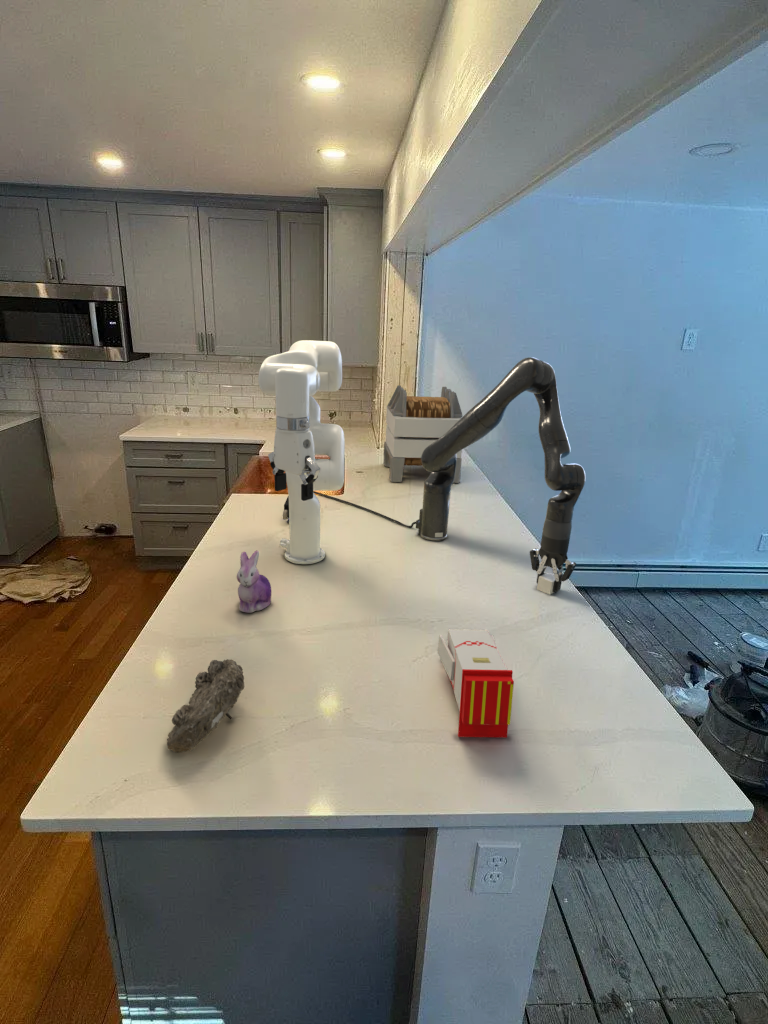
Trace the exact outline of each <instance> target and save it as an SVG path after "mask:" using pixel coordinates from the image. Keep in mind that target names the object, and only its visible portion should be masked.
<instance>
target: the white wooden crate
mask: <svg viewBox="0 0 768 1024" xmlns="http://www.w3.org/2000/svg"><path fill="white" fill-rule="evenodd" d="M440 393H441V394H440V396H415V395H414V396H413V395H412V396H411V395H407V394H408V393H407V390H406V389H404V388H403V387H402V385H399V384H398V385H397V386H396V388H395V390H394V392H393V394H392V395H391V398H390V400H389V402H388V404H387V405H386V413H385V414H386V415H385V423H386V428H385V438H384V442H383V466H384V467H388V468H389V475H388V476H389V477H388V478H389V480H390V482H391V483H402V482H403V475H404V469H405V466H406V467H407V466H411V467H412V466H413V467H415V466H416V467H417V466H418V467H423V466H422V463H421V456H422V453H423V451H424V450H425V448H426V447H428V446H429V445H431V444H432V443H433V442H435V441H436V440H438V439H439V438H440V437H442V436H443V435H444V434H446V433H447V432H448V431H449V430H450V429H451V428H452V427H453V426H454V425H455V424H456V423H457V422H458V421H459V420H460V419H461V418H462V417H463V411H462V408H461V405H460V402H459V398H458V395H457V392H455V391H453V390H452V389H451V388H447V386H442V387H441V392H440ZM462 453H463V449H462V450H460V451H459V452H458V453H456V456H457V460H456V469H455V476H454V481H453V484H455V483H456V484H459V483H461V472H462V461H463V460H462Z"/></svg>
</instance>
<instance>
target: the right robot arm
mask: <svg viewBox="0 0 768 1024" xmlns="http://www.w3.org/2000/svg"><path fill="white" fill-rule="evenodd" d="M556 377H557V376H556V373H555V369H554V368H553V366H552V365H551V364H550V363H548V362H546V361H544V360H541V359H539V358H536V357H533V356H532V357H531V356H529V357H524V358H522V359H521V360H519V361H518V362H517V363H516V364H515V365H514V366H513V367H512V368H511V370H509V371H508V372H507V374H506V375H505V376H504V377H503V378H502V380H501V381H500V382H498V384H497V385H496V386H495V387H494V388H492V389H491V390H490V391H489V393H487V394H486V395H485V396H484V397H483V398H482V399H480V400H479V402H477V403H475V405H474V406H472V407H471V408H470V409H469V410H468V411H467V412H466V413H465V414H464V415H462V417H461V419H460V420H459V421H458V422H457V423H456V424H455V425H454V426H453V427H452V428H451V429H450V430H449V431H448V432H447V433H446V434H444V435H443V436H442V437H440V438H439V439H438V440H436V441H435V442H433V443H432V444H431V445H429V446H428V447H426V448H425V450H424V451H423V453H422V456H421V463H422V466H421V467H423V469H424V470H426V471H427V472H428V473H429V472H430V473H429V475H428V476H427V478H425V480H424V482H423V493H422V496H423V497H422V506H421V508H420V509H419V516H418V519H416V520H415V521H413V522H412V523H411V524H410V525H407V524H404V523H402V522H400V521H399V520H397V519H394V518H391V517H389V516H388V515H384V514H382V513H380V512H377V511H375V510H372V509H369V508H367V507H364V506H361V505H359V504H356V503H353V502H350V501H347V500H345V499H341V498H337V497H334V496H331V495H328V494H326V493H325V494H324V493H321V492H317V491H313V493H314V494H315V495H318V496H322V497H324V498H325V497H326V498H328V499H332V500H335V501H338V502H342V503H345V504H347V505H351V506H354V507H357V508H358V509H362V510H364V511H367V512H370V513H372V514H374V515H377V516H380V517H382V518H384V519H386V520H389V521H391V522H394V523H395V524H398V525H400V526H403V527H404V528H408V529H411V528H412V529H413V527H414V526H415V529H417V535H418V536H420V538H421V539H424V540H426V541H432V542H440V541H444V540H446V539H447V538H448V525H449V517H450V516H449V514H450V504H451V494H452V493H451V491H452V486H453V484H454V483H453V481H454V476H455V469H456V460H457V456H456V453H458V452H459V451H460V450H462V451H463V449H465V448H467V447H470V446H471V445H474V444H475V443H477V442H478V441H480V440H481V439H483V438H485V437H486V436H487V435H488V434H489V433H490V432H492V431H493V430H494V429H496V427H498V426H499V425H500V423H501V421H502V420H503V417H504V415H505V413H506V410H507V407H508V406H509V405H510V404H511V402H513V401H514V400H515V399H516V398H517V397H519V395H521V394H523V393H525V392H528V393H532V394H533V396H534V397H535V399H536V402H537V404H538V409H539V419H538V427H537V429H538V436H539V441H540V443H541V447H542V451H543V454H544V455H543V456H544V481H545V483H546V485H547V487H548V488H549V489H550V490H551V491H555V492H557V491H558V492H559V493H558V494H556V495H554V496H552V497H550V498H549V499H548V501H547V506H546V512H545V519H544V520H543V521H544V522H543V525H542V533H541V540H540V548H539V549H538V548H533V549H531V550H530V551H529V558H530V565H531V570H532V571H535V572H536V573H537V575H536V584H537V585H538V579H539V577H540V576H541V575H543V574H545V573H546V570H547V568H548V567H549V568H551V569H552V574H553V575H554V576H555V580H554V586H553V592H554V593H557V592H559V591H560V590H561V587H562V582H563V583H564V582H565V581H567V580H569V578H571V576H572V573H574V570H575V568H576V566H577V563H576V561H573V562H572V561H571V560H569V558H568V553H569V552H568V551H569V546H570V540H571V534H572V527H573V526H572V525H573V518H574V517H573V516H574V511H575V506H576V504H577V502H578V500H579V499H580V496H581V493H582V491H583V489H584V487H585V484H586V479H587V478H586V471H585V469H584V467H583V466H582V465H581V464H579V463H562V461H561V460H562V459H564V458H566V457H567V456H569V455H570V453H571V451H572V450H571V445H570V442H569V437H568V434H567V431H566V429H565V425H564V422H563V417H562V413H561V408H560V407H561V406H560V401H559V393H558V384H557V378H556ZM540 559H541V561H540ZM564 564H565V570H564ZM563 571H564V572H563Z"/></svg>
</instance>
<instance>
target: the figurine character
mask: <svg viewBox="0 0 768 1024" xmlns="http://www.w3.org/2000/svg"><path fill="white" fill-rule="evenodd" d="M282 520H286V524H289V496H288V495H287V497H286V499H285V502H284V504H283V511H282Z"/></svg>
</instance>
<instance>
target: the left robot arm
mask: <svg viewBox="0 0 768 1024" xmlns="http://www.w3.org/2000/svg"><path fill="white" fill-rule="evenodd" d="M260 365H261V366H260V368H259V372H258V377H257V380H258V387H259V389H260V391H261V392H262V394H264V395H266V396H272V397H275V422H276V423H275V426H276V427H275V433H274V440H273V451H272V452H270V453H268V455H267V457H268V459H269V465H270V467H271V469H272V474H273V476H274V491H275V492H280V491H283V490H286V489H287V493H288V495H287V497H288V496H289V523H288V527H289V530H288V531H289V532H288V533H289V539H287V538H282V537H281V538H280V540H279V547H280V548H285V549H286V550H285V552H284V558H285V560H286V561H288V562H290V563H292V564H296V565H312V564H316V563H320V562H321V561H322V560H324V559H325V557H326V551H325V550H324V549H323V548H321V502H320V499H319V498H318V496H317V494H315V493H313V491H315V492H317V491H319V492H321V491H322V492H336V491H340V490H341V489H343V487H344V483H345V465H346V464H345V462H346V461H345V459H346V458H345V457H346V454H345V452H346V440H345V431H344V429H343V428H342V426H341V425H339V424H336V423H323V422H321V406H320V404H319V403H318V402H317V400H316V399H315V397H313V396H315V395H316V393H317V392H322V393H323V392H324V393H325V392H326V393H334V392H338V391H339V390H340V389H341V388H342V384H343V357H342V353H341V349H340V347H339V346H338V344H337V343H336V342H334V341H331V340H312V339H311V340H310V339H303V340H297V341H295V342H294V343H292V344H291V346H290V347H289V349H288V351H285V352H284V351H283V352H281V353H277V354H273V355H269V356H267V357H265V359H264V360H263V362H262V363H261V364H260ZM316 456H327V457H328V458H316Z"/></svg>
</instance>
